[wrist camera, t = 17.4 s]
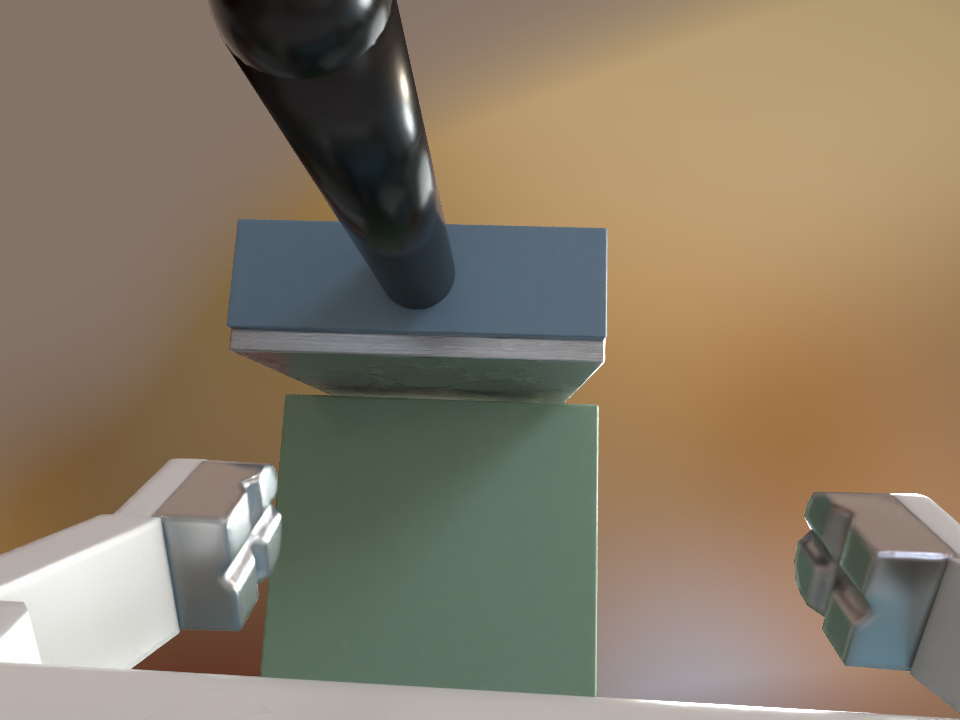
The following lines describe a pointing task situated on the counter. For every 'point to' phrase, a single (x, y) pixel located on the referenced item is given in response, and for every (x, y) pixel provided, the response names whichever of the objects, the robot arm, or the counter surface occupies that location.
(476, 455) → the sage green block
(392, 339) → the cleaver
